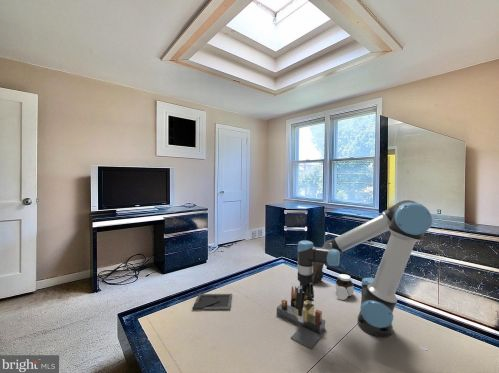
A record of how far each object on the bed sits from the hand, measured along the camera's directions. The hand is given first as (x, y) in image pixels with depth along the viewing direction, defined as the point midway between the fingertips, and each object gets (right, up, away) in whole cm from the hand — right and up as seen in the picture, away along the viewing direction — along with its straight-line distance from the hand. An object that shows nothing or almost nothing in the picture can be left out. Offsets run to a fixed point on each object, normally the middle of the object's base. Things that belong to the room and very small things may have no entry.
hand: (305, 317), depth 113 cm
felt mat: (-2, -4, -10) cm, 11 cm away
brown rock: (+16, -2, +48) cm, 50 cm away
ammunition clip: (+1, -3, +15) cm, 15 cm away
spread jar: (+31, -3, +27) cm, 41 cm away
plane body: (-2, -3, +2) cm, 4 cm away
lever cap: (0, +1, 0) cm, 1 cm away
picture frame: (-49, -4, +20) cm, 53 cm away
